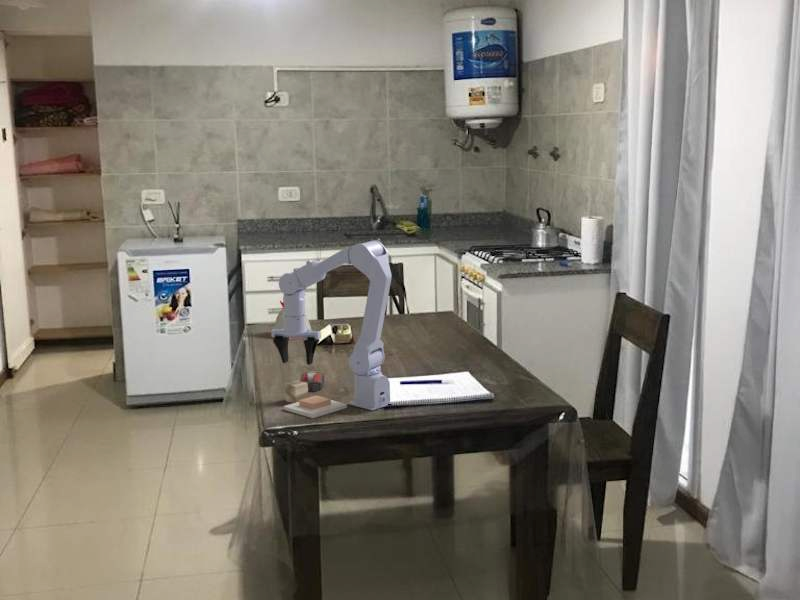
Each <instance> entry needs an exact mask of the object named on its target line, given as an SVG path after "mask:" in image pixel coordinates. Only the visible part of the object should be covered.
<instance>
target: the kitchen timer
mask: <svg viewBox="0 0 800 600" xmlns="http://www.w3.org/2000/svg"><path fill="white" fill-rule="evenodd" d="M282 300H283V301H281V300H279V303H280V305H281V307H282V309H281V310H280V311H279V312H278V314H277V316H276V319H275V323H274V327H273V330H274V329H285V313H284V296H283V298H282ZM305 318H306V329H307V330H312V327H311V326H312V325H311V324H310V320H309V317H308V315H307V314H306V313H305Z"/></svg>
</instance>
